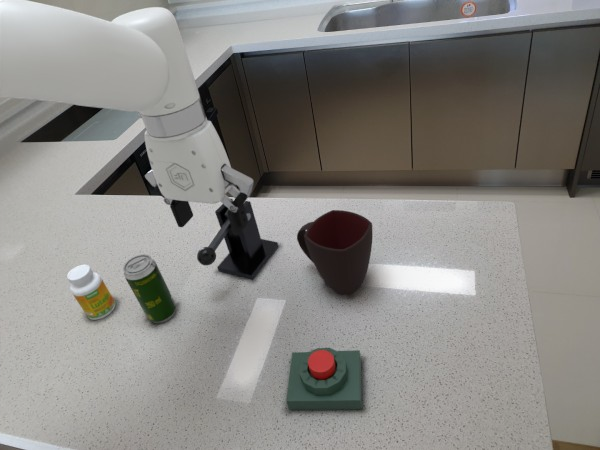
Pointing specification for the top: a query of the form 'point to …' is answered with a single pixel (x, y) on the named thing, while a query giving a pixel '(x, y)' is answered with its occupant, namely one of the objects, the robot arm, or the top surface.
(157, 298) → the beer can
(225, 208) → the switch bracket
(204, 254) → the switch lever
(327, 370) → the stop button
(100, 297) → the supplement bottle
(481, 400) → the top surface
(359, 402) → the control box
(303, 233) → the cup
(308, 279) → the top surface
